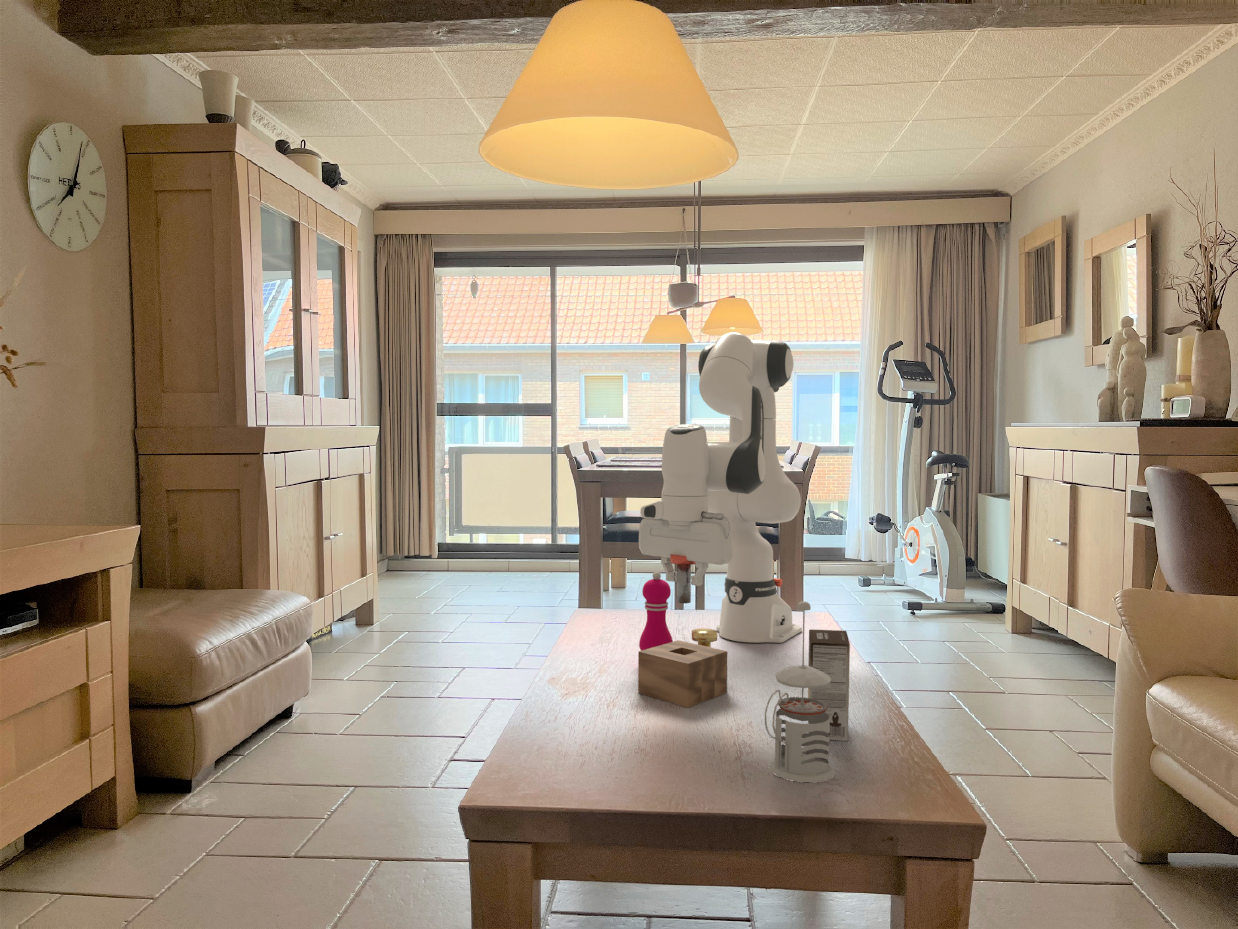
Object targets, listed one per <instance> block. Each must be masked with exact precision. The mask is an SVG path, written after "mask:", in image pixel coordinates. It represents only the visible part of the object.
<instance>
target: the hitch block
mask: <svg viewBox="0 0 1238 929" xmlns="http://www.w3.org/2000/svg"><path fill="white" fill-rule="evenodd" d="M637 659H638V666H637V667H638V668H637V670H638V673H637V674H638V676H637V678H638V679H637V681H638V682H637V684H638V685H637V688H638V689H637V694H639V695H644V696H647V697H650V698H654V699H657V700H661V701H663V702H667V703H670V704H674V705H678V706H680V707H684V708H687V709H688V708H690V707H691V708H692V707H693V706H696V705H699V704H702V703H703V702H706V701H710V700H712V699H713V698H714V699H715V698H717V697H720V696H722V695H725V694H727V693H728V651H727V650H724V649H720V648H719V649H718V648H715V647H712V646H711V647H706V646H702V645H698V643H693V642H688V641H683V640H678V639H677V640H675V641H673V642H670V643H667V644H663V645H660V646H656V647H653V648H649V649H646V650H642V651H641V650H638V658H637Z"/></svg>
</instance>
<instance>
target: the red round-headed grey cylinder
mask: <svg viewBox="0 0 1238 929" xmlns="http://www.w3.org/2000/svg"><path fill="white" fill-rule="evenodd" d="M670 563H672V565H676V566H677V567H676V572H677V581H676V603H677V604H690V603H691V602H692V601H691V600H692V598H691V597H692V595H691V593H692V592H691V590H692V589H691V588H692V584H691V581H692V580H691V576H692V565H696V562H695V561H688V560H687V557H686V556H680V555H673V554H670Z"/></svg>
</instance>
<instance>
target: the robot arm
mask: <svg viewBox="0 0 1238 929" xmlns="http://www.w3.org/2000/svg"><path fill="white" fill-rule="evenodd" d="M697 363H698V366H697V367H698V374H699V375H698V376H699V383H698V390H699V394H700V397H701V398H702V400H703V402H704V403H705V404H706V406H708V407H709V408H711V409H712V410H713V411H714V412H716V413H718V414H720V415H726V416H729V432H728V433H729V435H728V436H729V437H728V438H729V440H728V442H727V441H721V442H720V441H708V437H707V431H706V428H705V426H703V425H701V424H698V423H697V424H696V423H682V424H675V425H672V426H670V427H669V428H667V429H666V430H665V433H664V439H663V444H662V454H661V455H662V456H661V474H662V478H663V486H662V490H661V500H658V501H655V502H652V503H649V504H646V505H644V506H641V507H640V511H639V512H640V516H641V518H643V519H642V520H641V521H640V523H639V528H638V529H639V530H638V548H639V550H640V552H641V555H645V556H653V557H659V558H660V564H661V565H662V567H663V570H664V572H665V581H666V582H671V583H673V582H677V570H675V569H674V566H673V564H672V563H670V554H673V555H680V556H686V557H687V560H688V561H695V562H696V564H695V568H697V569H696V572H695V573H694V574H693V575H691V586H697V587H700V586H702V585H704V576H705V574H706V572H707V570H708V568H709V564H710V565H721V566H722V565H726V577H725V578H724V585H723V586H724V593H725V595H724V597H723V598H722V599H721V608H720V617H719V618H720V620H719V624H718V625H716V629H715V630H716V631H717V632H718V633H719V634H718V635H719V636H720V637H721V638H723V639H726V640H731V641H734V642H739V643H740V642H741V643H754V644H755V643H757V644H758V643H780V644H781V643H784V642H786V641H788V640H790V639H792V637H794V636H796V635H798V634H799V633H801V632H803V626H800V625H797V624H794V623H793V611H792V608H791V606H790V605H789V604H787V602H785V600H784V599H782V597H780V595H779V594H778V590H777V587H778V588H781V587H782V586H783V584H784V583H783V579H782V578H776V577H774V575H773V574H774V571H773V570H774V569H773V568H774V549H773V546H772V545H771V543H770V542H769V541H768V540H767V539H766V538H764V537H763V536H762V535H761V533H760V532H759V530H758V528H757V525H756V523H762V524H781V523H786V522H791V521H792V520H794V518H795V517H796V516H797V515H798V513H799V511H800V508H801V503H802V502H801V501H802V499H801V494H800V491H799V488H798V487H797V485H796V484H795V483H794V482H793V481H792V480H791V479H790V478H789V477H788V475H787V474H786V473H785V471H784V469H783V468H782V466H781V463H780V461H779V460H780V459H779V458H778V457H779V456H778V454H777V453H778V452H777V437H776V436H777V434H776V432H777V428H776V426H777V425H776V423H777V422H776V420H777V409H776V408H777V407H776V405H777V404H776V397H775V396H776V394H775V393H777V392H779V389H780V388H781V387H784V386H785V385H786V384H787V383H788V382H789V380H790V379H791V376H792V373H793V369H794V357H793V354H792V350H791V348H790V346H789V345H788V344H787V343H786V342H783V341H780V340H773V339H772V340H770V341H768V340H767V341H766V340H756V339H755V340H752V339H750V337H748V336H747V335H744V334H742V333H739V332H727V333H725V334H722V335H721V336H719V338H718V339H717V340H716V341H715V342H714V343H711V344H708V345H706V346H705V347H704V348H703V349H702V350H701V352H700V353H699V357H698V362H697Z"/></svg>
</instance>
